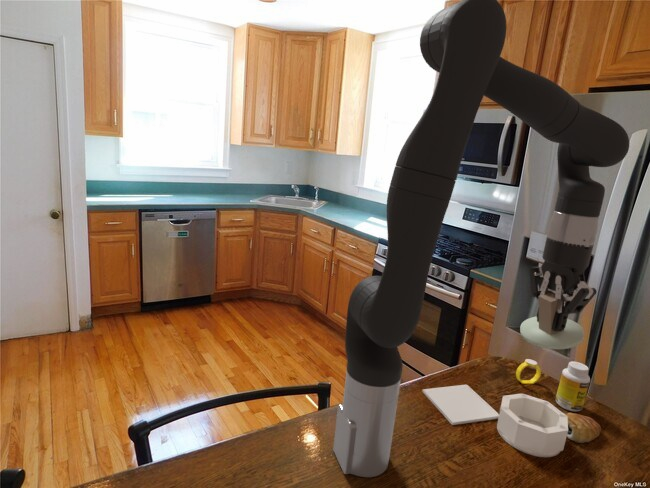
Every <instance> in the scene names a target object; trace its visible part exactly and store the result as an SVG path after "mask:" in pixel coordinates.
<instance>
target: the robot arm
mask: <svg viewBox="0 0 650 488" xmlns="http://www.w3.org/2000/svg"><path fill="white" fill-rule="evenodd" d="M506 17H507V16H506V13H505V10H504V8H503V6H502V5H501V3H500V2H499V1H498V0H460V1H458V2H456V3H454V4H451V5H449V6H447V7H445V8H443V9H441V10H439V11H438V12H436V13H435V14H434V15H432V16H431V17H429V19H428V20H427V21H426V23H425V24H424V26H423V27H422V30H421V33H420V37H419V47H420V53H421V56H422V58H423V60H424V61H425V63H426V64H427V65H428V66H429V68H431V69H432V70H433V71H435V72H437V73H439V74H438V78H437V82H436V84H435V88H434V90H433V94H432V96H431V99H430V101H429V103H428V105H427V107H426V109H425V111H424V112H423V113H422V114H421V115H422V116H421V117H420V119H419V120H418V121H417V123H416V124H415V126H414V128H413V129H412V131H411V132H410V134H409V135H408V136H407V138H406V140H405V142H404V144H403V146H402V147H401V150H400V151H399V154H398V156H397V159H396V163H395V166H394V168H393V169H394V170H393V173H392V176H391V180H390V183H389V188H388V192H387V198H386V226H387V230H386V231H387V253H386V259H385V264H384V268H383V270H382V273H381V275H370V276H367V277H365V278H363V279H361V280H360V281H359V282H358V283H357V284H356V285H355V287H354V289H352V292H351V294H350V296H349V300H348V303H347V304H348V305H347V313H346V325H345V338H344V341H345V342H344V348H345V354H346V361H347V362H346V372H345V381H344V389H343V398H342V403H341V404H338V405H337V413H336V421H335V431H334V440H333V449H332V450H333V453H334V456H335V457H336V459H337V461H338V463H339V466H340V467H341V470H342V473H343V474H344V475H349V474H350V475H354V476H357V477H362V478H373V477H377V476H380V475H381V474H383V473H385V471H386V470H387V469H388V466H389V461H390V455H391V448H392V442H393V435H394V427H395V423H396V422H395V421H396V414H397V413H396V412H397V406H398V401H399V395H400V394H399V392H400V388H401V381H402V373H403V359H402V357H401V354H400V352H399V347H400V346H402V345H403V344H404V343H406V342H407V341H408V340H409V339H410V338H411V336H412V335H413V334H414V332H415V330H416V328H417V326H418V324H419V321H420V318H421V313H422V308H423V303H424V299H425V293H426V287H427V283H428V276H429V274H430V269H431V268H430V267H431V263H432V260H433V256H434V254H435V251H436V250H435V249H436V246H437V243H438V239H439V236H440V232H441V229H442V226H443V222H444V218H445V217H446V213H447V210H448V207H449V204H450V201H451V198H452V195H453V193H454V189H455V186H456V185H455V184H456V181H457V178H458V175H459V171H460V167H461V163H462V160H463V157H464V154H465V151H466V148H467V145H468V141H469V139H470V135H471V133H472V129H473V126H474V123H475V120H476V117H477V114H478V111H479V108H480V106H481V103H482V101H483V99H484V97H485V98H488V99H489V100H491V101H493V102H494V103H496V104H498V105H499V106H500V107H502V108H503V109H505V110H506V111H508V112H510V113H511V114H512V115H514V116H515V117H516V118H518V119H519V120H521V121H522V122H524V123H525V125H527V126H528V127H529V128H531V129H532V130H534V131H535V132H537V133H538V134H539V135H540V136H542V137H543V138H545V139H546V140H549V141H550V142H553V143H556V144H558V146H557V153H556V156H557V157H556V158H557V159H556V160H557V172H558V173H557V177H558V178H557V179H558V193H557V197H556V202H555V206H554V211H553V214H552V216H551V218H550V221H549V224H548V231H547V234H546V238H545V242H544V243H545V244H544V247H543V248H544V249H543V252H542V256H541V257H542V259H543V260H544V261H543V263H542V264H541V266H530V267H529V268H528V274H529V281H530V289H531V290H530V291H531V296H532V297H533V298H535V299H537V302H538V303H539V297H538V296H540V295H543V294H548V293H551V292H553V293H555V299H556V300H558V301H557V306H556V311H557V312H555V316H554V320H553V324H552V328H551V329H552V330H553V331H555V332H556V331H562V330H563V329H564V328H565V327H566V322H567V319H569V318H568V317H569V315H573V314H576V315H577V314H580V313H582V311H583V310H584V308H586V306H587V305H588V304H589V303H590V302H591V301H592V299H593V298H594V297H595V296H596V295H597V289H596V288H595V287H590V286H589V285H588V284H587V282H585V281H586V278H585V271H586V269H587V268H588V267H589V265H590V261H591V258H592V254H593V249H594V246H595V242H596V239H597V234H598V226H599V220H600V219H599V218H600V215H601V211H602V206H603V203H604V198H605V191H606V188H605V186H604V185H603V183H600V182H598V181H596V180H594V179H592V178H591V174H590V167H595V168H609V167H613V166H615V165H617V164H619V163H620V162H622V161H623V160H624V159H625V158H626V156H627V155H628V153H629V149H630V138H629V135H628V133H627V131H626V130H625V128H624V127H623V126H622V125H621V124H620V123H619V122H617V121H615V120H614V119H612V118H610V117H608V116H606V115H605V114H604V115H603V114H602V113H600V112H598V111H596V110H594V109H591V108H589V107H587V106H584V105H583V104H581V103H580V102H579V100H577V99H576V98H575V97H574V96H572V95H571V94H570V93H569V92H568V91H567V90H565V89H564V88H562V87H561V86H560V85H559V84H557V83H556V82H554V81H552V80H551V79H549V78H546V77H545V76H543V75H540V74H538V73H536V72H533V71H531V70H528V69H526V68H525V67H521V66H518V65H516V64H515V63H512V62H511V61H509V60H507V59H505V58H503V57H502V56H501V55H502V52H503V49H504V47H505V46H504V45H505V41H506V37H507V18H506ZM536 316H537V322H539V306H538V308H537V313H536Z"/></svg>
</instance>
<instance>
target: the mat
mask: <svg viewBox="0 0 650 488" xmlns="http://www.w3.org/2000/svg"><path fill="white" fill-rule="evenodd" d="M422 393H423V394H424V395H425V396H426V398H427V399H428V400H429V401H430V402H431V404H433V406H434V407H435V408H436V409H437V410H438V411H439V412H440V413H441V414H442V415H443V416H444V417H445V419H446V420H447V422H449V423H450V424H451V426H455V425H463V424H470V423H477V422H483V421H491V420H498V418H499V413H498V412H497V411H496V410H495V409H494V408H493V407H492V406H491V405H490V404H489V403H488V402H486V401H485V400H484V399H483V398H482V397H481V396H480V395H479V394H478V393H477V392H475V391H474V390H473V389H472V388H471V386H469V385H468V384H460V385H459V384H457V385H451V386H443V387H442V386H441V387H432V388H425V389H422Z"/></svg>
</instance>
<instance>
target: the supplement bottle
mask: <svg viewBox="0 0 650 488" xmlns="http://www.w3.org/2000/svg"><path fill="white" fill-rule="evenodd" d="M590 382H591V378H590V375H589V367H588V366H587V365H586V364H584V363H582V362H578V361H574V360H573V361H569V362H568V365H567V367H566V368H564V369H562V371H561V377H560V380H559V384H558V388H557V391H556V395H555V402H556V404H557V405H558V406H560V407H561V408H562V409H565V410H567V411H570V412H574V413H575V412H580V411H582V410H583V408H584V404H585V400H586V397H587V393H588V391H589V387H590V386H589V385H590Z"/></svg>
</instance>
